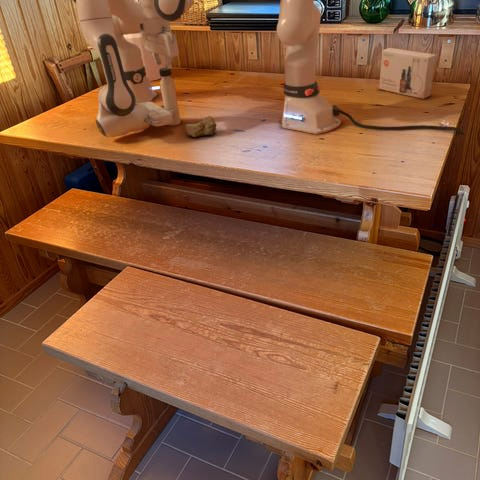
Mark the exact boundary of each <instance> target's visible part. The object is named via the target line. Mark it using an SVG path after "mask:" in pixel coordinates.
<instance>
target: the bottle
mask: <svg viewBox="0 0 480 480" xmlns="http://www.w3.org/2000/svg"><path fill="white" fill-rule="evenodd" d="M159 87H160V91H161V98H162V103H163V104H162V105H164V109H165V110H167V111H171V110H172V109H174V108H176V109H178V114H174V115H173V116H172V117H173V122H172V123H171V124H167V125H166V126H170V127H173V126H179V125H180V124H181V122H182V121H181V115H180V110H179V102H178V97H177V91H176V85H175V81H174V79H173V78H172V77H171V75H170V76H167V77H162V78H161V79H160V81H159Z"/></svg>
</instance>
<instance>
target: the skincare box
mask: <svg viewBox="0 0 480 480" xmlns="http://www.w3.org/2000/svg"><path fill="white" fill-rule="evenodd" d="M436 57H437V54H435V53H427V52H423V51H422V52H420V51H413V50H407V49H400V48H395V47H394V48H393V47H387V48H385V49H382V50H381V61H380V74H379V86H378V87H379V88H378V89H379V90H383V91H387V92H391V93H395V94H399V95H405V96H409V97H414V98H418V99H422V100H424V99H426V98H428V97H430V96H431V91H432V86H433V85H432V84H433V78H434V73H435V72H434V71H435V70H434V69H435V64H436Z"/></svg>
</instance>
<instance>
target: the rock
mask: <svg viewBox="0 0 480 480" xmlns="http://www.w3.org/2000/svg"><path fill="white" fill-rule="evenodd" d="M217 126H218V125H217V123H216V122H215V118H214V117H213V116H212V115H209V116H205V117H204V119H201V120H200V121H199V122H198V123H187V124H185V132H186V134H187V136H189V137H192V138H197V137H203V136H212V135H214V134H215V131H216V130H217Z"/></svg>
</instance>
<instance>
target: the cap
mask: <svg viewBox="0 0 480 480" xmlns="http://www.w3.org/2000/svg"><path fill="white" fill-rule="evenodd" d="M171 69H172V68H170V69H168V68H161V69H159V72H160V76H161V77H167V76H170V77H171V76H172V70H171Z"/></svg>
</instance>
